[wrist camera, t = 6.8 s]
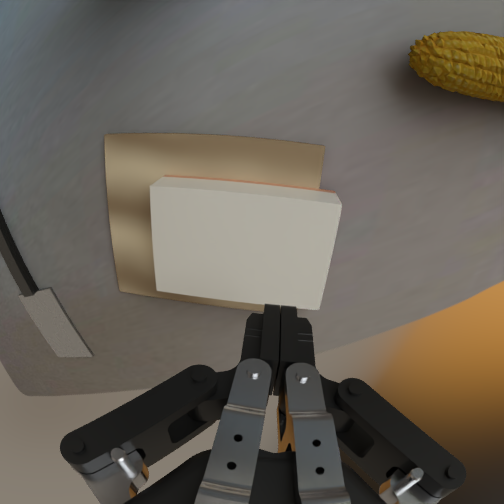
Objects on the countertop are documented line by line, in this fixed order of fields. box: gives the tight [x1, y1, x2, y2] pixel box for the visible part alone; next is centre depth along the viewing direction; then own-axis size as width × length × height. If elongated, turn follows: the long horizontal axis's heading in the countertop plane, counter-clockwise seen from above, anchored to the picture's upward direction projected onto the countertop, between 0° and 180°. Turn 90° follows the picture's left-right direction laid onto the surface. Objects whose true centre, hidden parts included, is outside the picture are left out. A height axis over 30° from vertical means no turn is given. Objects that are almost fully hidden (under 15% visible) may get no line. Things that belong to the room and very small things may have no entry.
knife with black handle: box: [0, 210, 94, 357], centre depth 28 cm, size 24×7×1 cm, turn 15°
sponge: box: [150, 175, 342, 310], centre depth 22 cm, size 8×3×12 cm
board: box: [104, 133, 325, 312], centre depth 23 cm, size 14×16×1 cm
